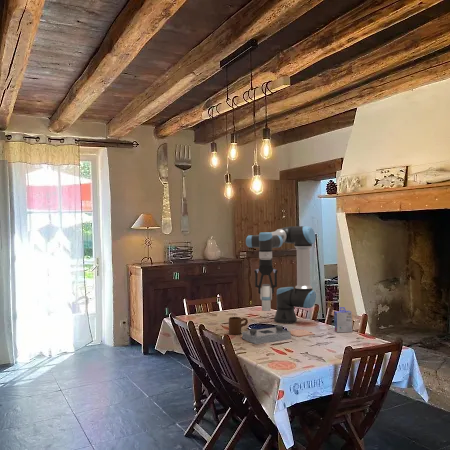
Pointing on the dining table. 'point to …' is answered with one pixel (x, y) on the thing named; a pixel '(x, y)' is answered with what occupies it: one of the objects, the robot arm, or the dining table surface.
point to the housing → (266, 335)
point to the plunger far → (279, 327)
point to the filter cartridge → (266, 297)
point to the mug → (236, 325)
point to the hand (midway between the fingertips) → (266, 299)
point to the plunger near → (253, 331)
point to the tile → (300, 333)
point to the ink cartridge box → (343, 320)
